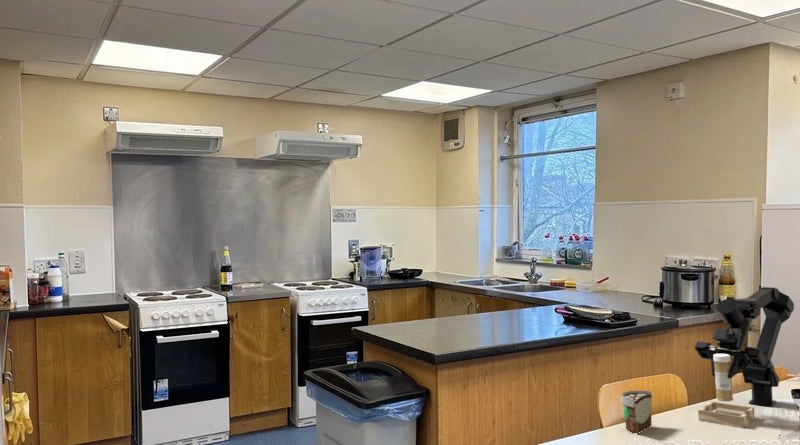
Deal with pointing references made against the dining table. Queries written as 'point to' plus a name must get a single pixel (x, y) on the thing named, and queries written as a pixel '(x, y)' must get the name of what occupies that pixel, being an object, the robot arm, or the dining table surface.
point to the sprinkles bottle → (723, 377)
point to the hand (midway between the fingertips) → (721, 376)
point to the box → (726, 414)
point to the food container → (637, 410)
